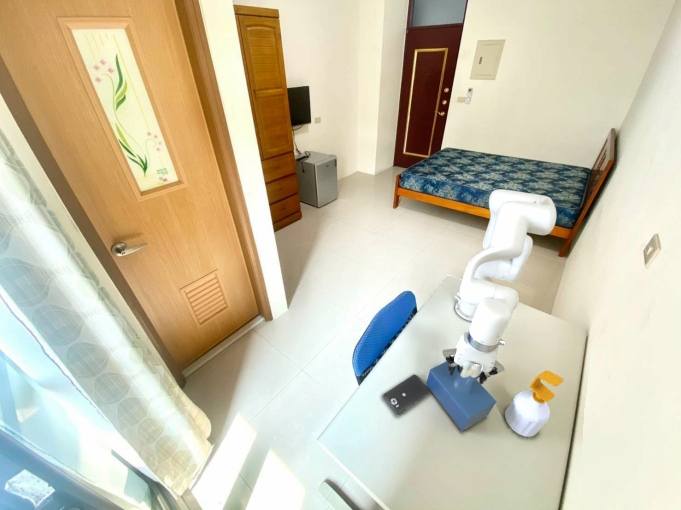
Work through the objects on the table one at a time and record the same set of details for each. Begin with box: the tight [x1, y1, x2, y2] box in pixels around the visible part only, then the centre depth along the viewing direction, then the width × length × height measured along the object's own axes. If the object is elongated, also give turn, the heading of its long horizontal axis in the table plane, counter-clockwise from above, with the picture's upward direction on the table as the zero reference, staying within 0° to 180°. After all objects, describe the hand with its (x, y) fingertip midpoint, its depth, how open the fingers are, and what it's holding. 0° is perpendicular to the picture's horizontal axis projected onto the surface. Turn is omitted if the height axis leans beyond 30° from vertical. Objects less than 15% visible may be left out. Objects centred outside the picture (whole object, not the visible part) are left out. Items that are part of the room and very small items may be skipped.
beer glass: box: [452, 360, 483, 393], centre depth 84 cm, size 7×7×15 cm
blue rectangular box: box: [425, 360, 497, 432], centre depth 91 cm, size 17×11×10 cm, turn 25°
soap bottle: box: [504, 370, 564, 438], centre depth 81 cm, size 9×9×25 cm
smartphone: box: [382, 374, 430, 416], centre depth 95 cm, size 8×15×1 cm, turn 121°
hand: (465, 375), depth 85 cm, fingers open, 8 cm apart
